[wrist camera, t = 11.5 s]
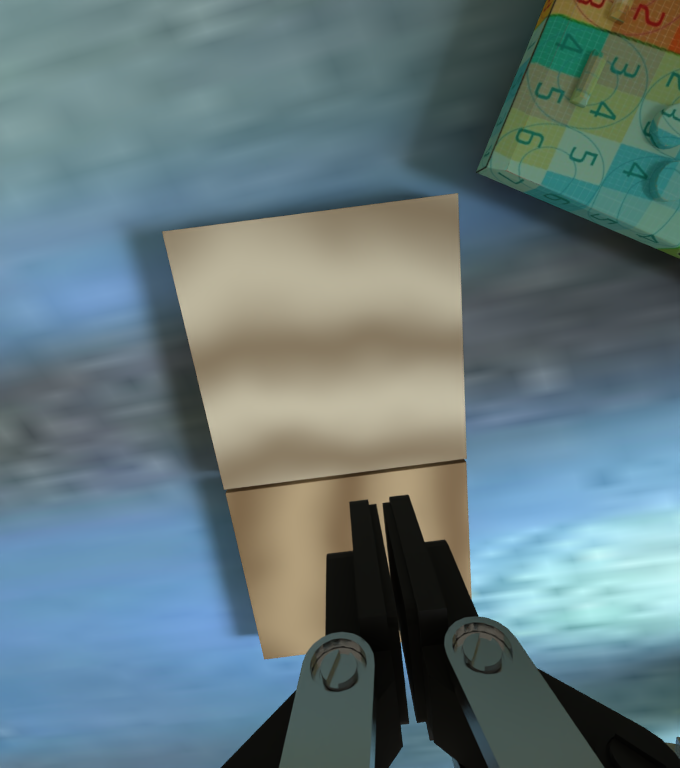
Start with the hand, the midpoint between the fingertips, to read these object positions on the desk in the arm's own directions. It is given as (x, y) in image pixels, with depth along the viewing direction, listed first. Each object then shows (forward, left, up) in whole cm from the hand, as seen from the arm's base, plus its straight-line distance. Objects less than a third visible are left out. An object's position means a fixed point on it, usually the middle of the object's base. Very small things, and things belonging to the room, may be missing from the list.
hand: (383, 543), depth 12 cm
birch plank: (+1, -3, -13) cm, 14 cm away
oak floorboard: (+1, +11, -14) cm, 17 cm away
